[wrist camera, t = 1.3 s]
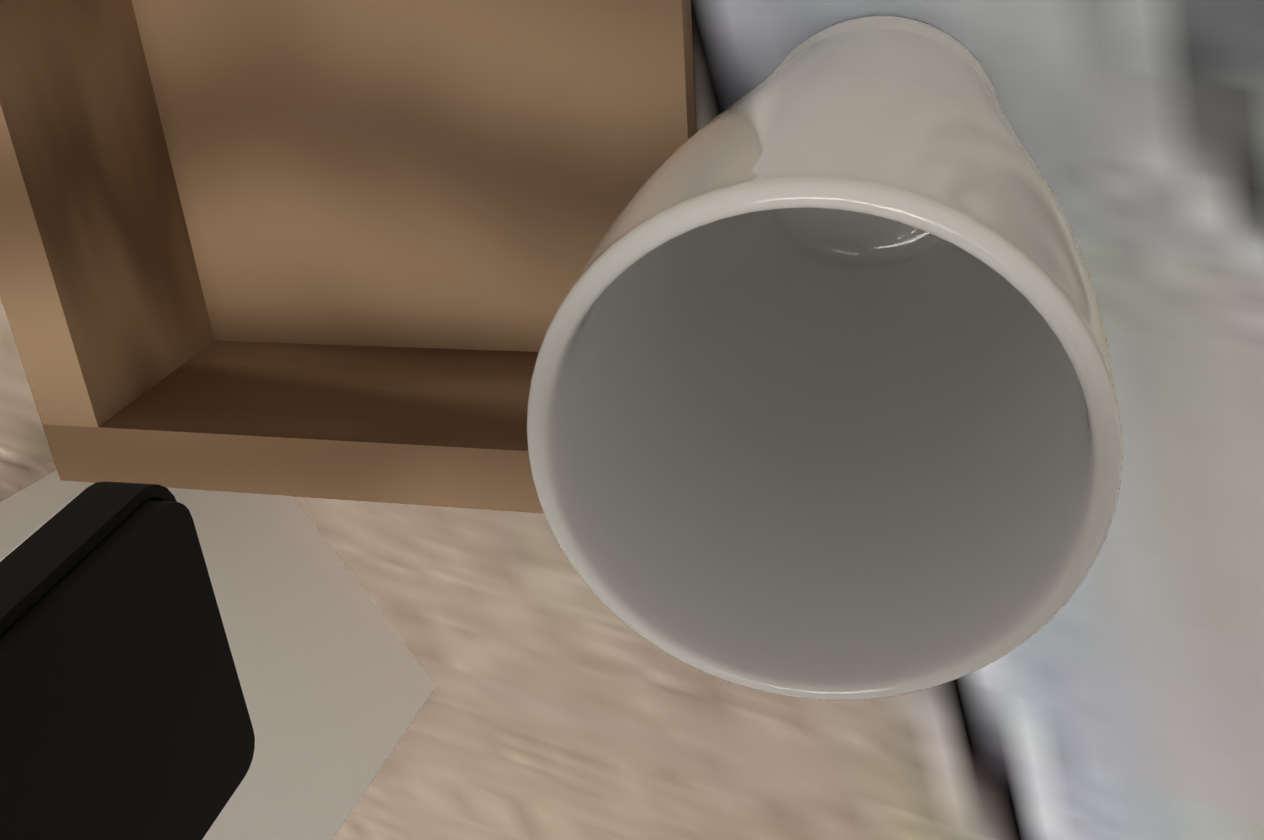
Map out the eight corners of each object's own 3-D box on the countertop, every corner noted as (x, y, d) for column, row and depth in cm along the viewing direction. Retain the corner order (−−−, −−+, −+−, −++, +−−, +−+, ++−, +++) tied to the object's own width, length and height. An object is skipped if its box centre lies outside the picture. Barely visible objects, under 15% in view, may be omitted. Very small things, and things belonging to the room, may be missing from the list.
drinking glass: (726, 278, 28) (543, 683, 16) (719, -21, 25) (482, 172, 12) (1023, 285, 27) (1094, 741, 14) (1053, -33, 24) (1179, 174, 11)
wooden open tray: (708, 430, 30) (659, 561, 25) (159, 403, 34) (19, 512, 29) (681, -237, 24) (606, -246, 18) (-1, -180, 27) (-221, -174, 22)
